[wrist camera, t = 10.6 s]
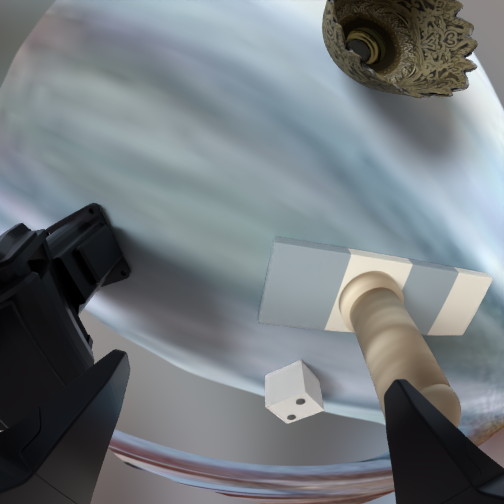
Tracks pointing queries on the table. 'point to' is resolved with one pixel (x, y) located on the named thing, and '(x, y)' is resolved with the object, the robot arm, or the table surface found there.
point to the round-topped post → (394, 341)
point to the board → (351, 265)
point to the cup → (402, 44)
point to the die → (293, 392)
